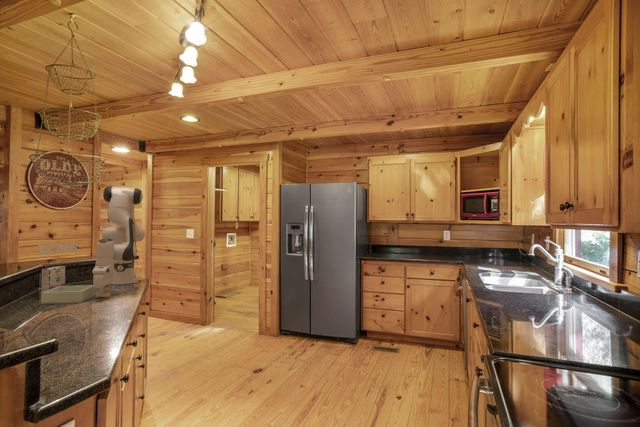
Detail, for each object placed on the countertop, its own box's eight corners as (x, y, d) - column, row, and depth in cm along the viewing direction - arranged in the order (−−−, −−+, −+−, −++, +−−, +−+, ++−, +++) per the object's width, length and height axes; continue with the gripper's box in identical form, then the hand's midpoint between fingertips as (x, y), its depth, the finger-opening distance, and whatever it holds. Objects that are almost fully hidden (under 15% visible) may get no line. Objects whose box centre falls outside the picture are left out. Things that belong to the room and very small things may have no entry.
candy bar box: (56, 294, 190) (57, 266, 191) (65, 294, 190) (66, 266, 191) (40, 299, 179) (41, 268, 180) (49, 299, 179) (50, 268, 179)
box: (58, 296, 184) (58, 286, 185) (95, 295, 189) (95, 284, 189) (40, 304, 167) (41, 292, 167) (81, 302, 172) (82, 291, 172)
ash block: (99, 295, 185) (99, 286, 185) (111, 294, 187) (111, 286, 187) (96, 297, 181) (96, 288, 181) (108, 296, 182) (108, 287, 182)
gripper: (105, 265, 193) (104, 289, 193) (90, 271, 173) (90, 297, 173) (117, 265, 195) (116, 289, 194) (104, 270, 175) (103, 297, 175)
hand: (104, 293), depth 184 cm, fingers closed on ash block, 4 cm apart
